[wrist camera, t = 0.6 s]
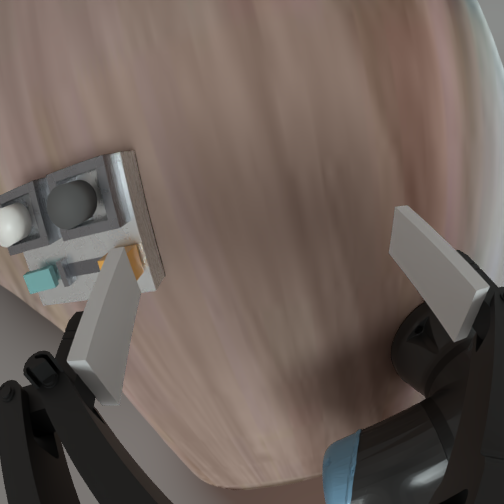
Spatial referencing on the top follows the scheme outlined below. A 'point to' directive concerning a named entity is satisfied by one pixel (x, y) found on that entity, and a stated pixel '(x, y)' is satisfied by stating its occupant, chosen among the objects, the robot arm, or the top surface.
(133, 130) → the top surface
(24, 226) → the button
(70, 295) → the panel
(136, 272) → the slider knob
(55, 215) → the button
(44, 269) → the teal rectangular block
